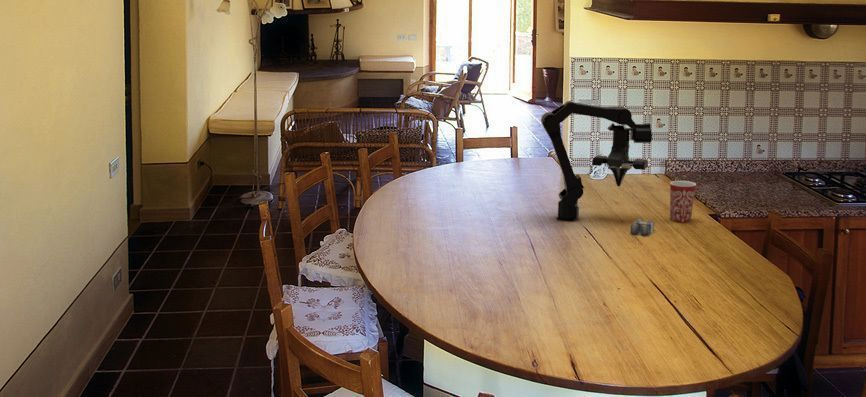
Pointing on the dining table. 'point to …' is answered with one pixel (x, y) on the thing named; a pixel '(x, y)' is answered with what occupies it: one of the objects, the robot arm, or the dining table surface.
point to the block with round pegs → (644, 224)
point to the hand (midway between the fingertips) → (618, 186)
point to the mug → (681, 200)
